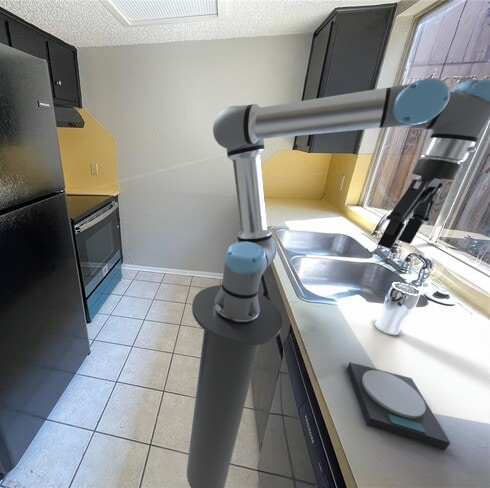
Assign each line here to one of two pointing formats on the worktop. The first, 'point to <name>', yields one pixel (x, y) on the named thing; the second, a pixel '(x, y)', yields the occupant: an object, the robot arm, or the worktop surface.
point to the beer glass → (397, 307)
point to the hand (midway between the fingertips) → (394, 244)
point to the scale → (395, 405)
